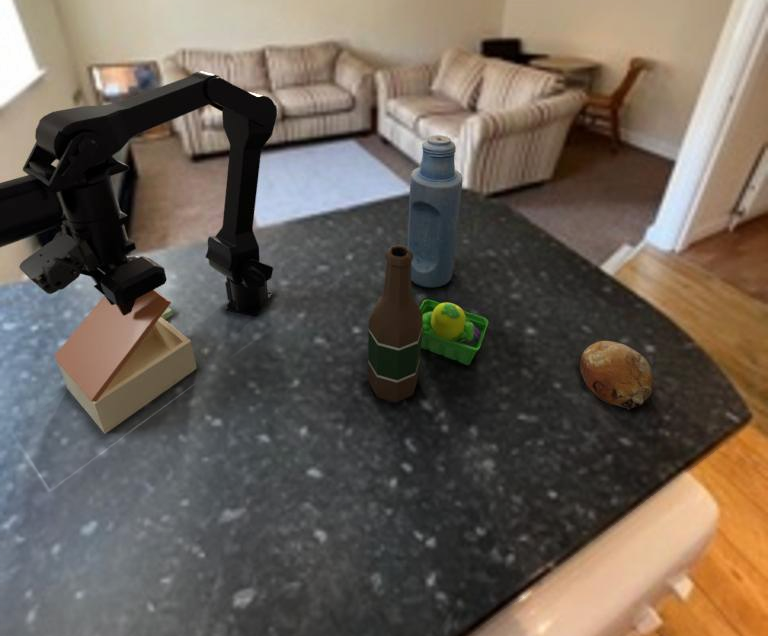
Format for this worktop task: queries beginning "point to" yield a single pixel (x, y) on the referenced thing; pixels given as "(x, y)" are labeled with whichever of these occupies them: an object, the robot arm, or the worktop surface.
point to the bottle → (434, 213)
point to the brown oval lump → (616, 374)
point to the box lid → (108, 341)
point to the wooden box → (140, 376)
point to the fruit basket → (451, 331)
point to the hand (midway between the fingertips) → (120, 308)
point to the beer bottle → (395, 332)
